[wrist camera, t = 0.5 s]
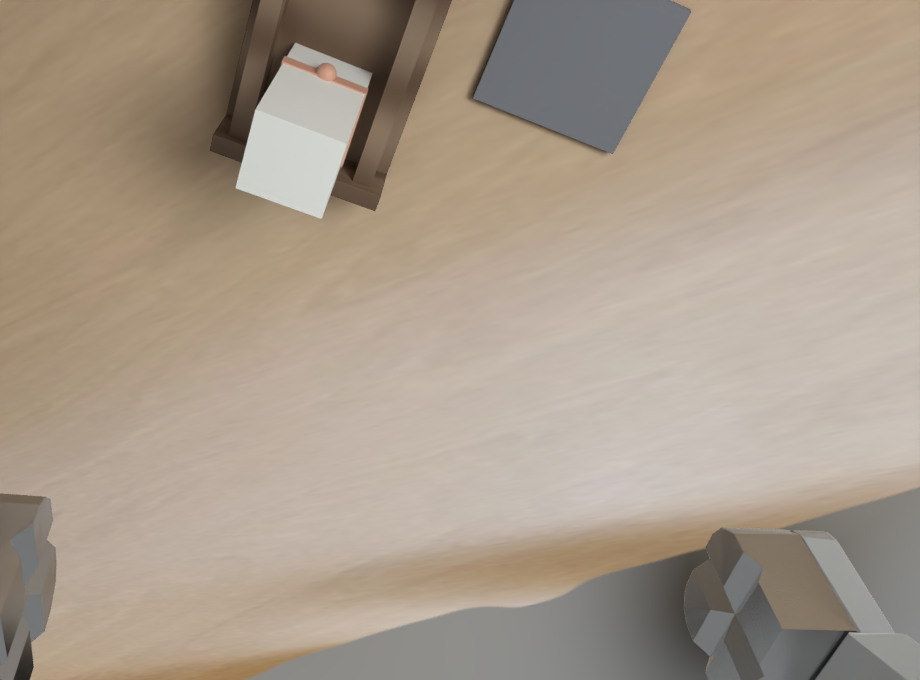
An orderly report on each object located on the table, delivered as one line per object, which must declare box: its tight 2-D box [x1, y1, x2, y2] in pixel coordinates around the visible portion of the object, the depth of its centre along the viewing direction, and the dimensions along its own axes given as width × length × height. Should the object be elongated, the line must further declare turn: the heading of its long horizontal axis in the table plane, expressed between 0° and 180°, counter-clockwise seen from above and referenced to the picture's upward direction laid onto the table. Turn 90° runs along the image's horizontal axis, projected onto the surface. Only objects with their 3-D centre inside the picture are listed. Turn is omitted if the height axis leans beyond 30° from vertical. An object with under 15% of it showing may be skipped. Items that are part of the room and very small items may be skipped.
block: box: [236, 43, 373, 219], centre depth 51 cm, size 6×5×10 cm
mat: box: [473, 0, 691, 154], centre depth 54 cm, size 10×10×1 cm
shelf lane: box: [210, 0, 452, 211], centre depth 52 cm, size 17×11×4 cm, turn 159°
